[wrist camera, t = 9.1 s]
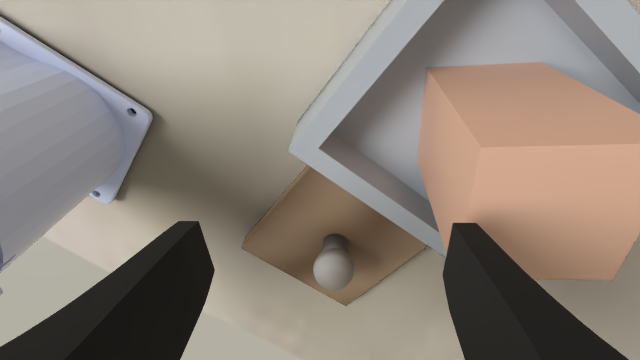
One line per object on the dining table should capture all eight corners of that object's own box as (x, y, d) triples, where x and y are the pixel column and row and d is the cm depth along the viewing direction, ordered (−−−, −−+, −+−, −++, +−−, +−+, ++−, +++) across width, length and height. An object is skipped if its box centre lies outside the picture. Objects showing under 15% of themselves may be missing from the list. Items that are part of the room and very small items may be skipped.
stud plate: (245, 237, 24) (225, 289, 20) (322, 147, 19) (314, 192, 16) (346, 295, 26) (345, 350, 22) (434, 226, 22) (451, 281, 18)
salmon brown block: (417, 161, 18) (453, 277, 12) (426, 67, 16) (480, 147, 9) (514, 159, 18) (612, 280, 11) (541, 61, 15) (692, 142, 8)
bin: (298, 121, 18) (287, 151, 16) (477, -114, 13) (515, -136, 10) (462, 237, 22) (479, 280, 19) (662, 95, 16) (730, 124, 13)
